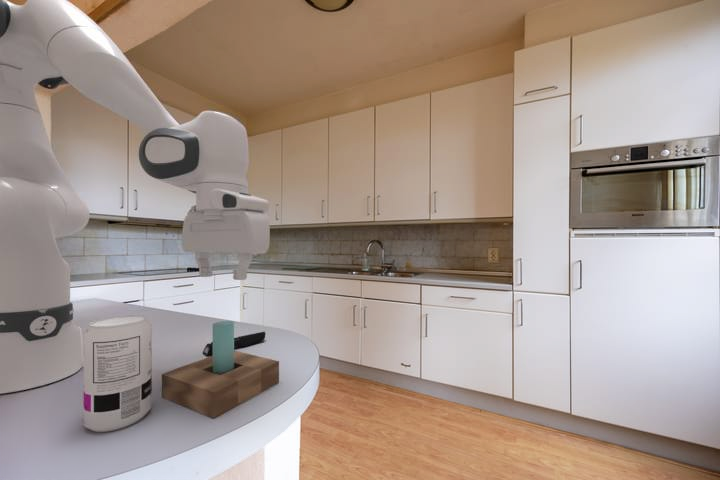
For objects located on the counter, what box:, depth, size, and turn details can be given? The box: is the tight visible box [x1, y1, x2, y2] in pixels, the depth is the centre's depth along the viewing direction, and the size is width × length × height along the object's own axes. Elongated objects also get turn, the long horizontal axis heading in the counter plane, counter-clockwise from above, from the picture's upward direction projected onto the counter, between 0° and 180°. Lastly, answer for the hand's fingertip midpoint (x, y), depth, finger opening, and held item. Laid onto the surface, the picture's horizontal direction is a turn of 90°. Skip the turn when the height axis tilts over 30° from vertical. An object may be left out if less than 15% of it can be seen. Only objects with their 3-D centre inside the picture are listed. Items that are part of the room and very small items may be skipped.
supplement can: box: [82, 314, 153, 433], centre depth 48 cm, size 8×8×15 cm
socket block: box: [161, 350, 280, 419], centre depth 57 cm, size 14×14×4 cm
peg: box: [212, 320, 235, 375], centre depth 57 cm, size 4×4×12 cm
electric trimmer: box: [202, 331, 267, 358], centre depth 80 cm, size 4×16×3 cm, turn 134°
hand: (222, 278), depth 57 cm, fingers open, 8 cm apart
